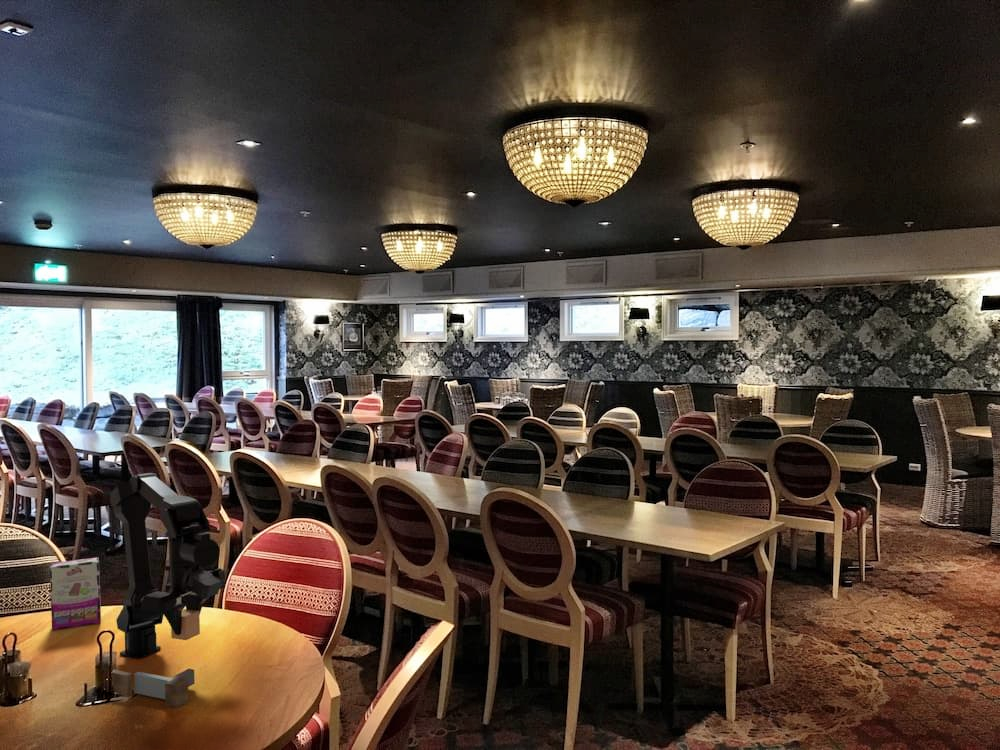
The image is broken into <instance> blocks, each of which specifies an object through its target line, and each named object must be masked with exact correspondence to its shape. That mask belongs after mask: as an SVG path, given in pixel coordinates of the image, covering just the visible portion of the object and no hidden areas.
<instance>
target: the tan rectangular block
mask: <svg viewBox="0 0 1000 750" xmlns="http://www.w3.org/2000/svg"><path fill="white" fill-rule="evenodd" d="M170 628H171V629H170V630H171V633H170V634H171V639H174V640H181V641H188V640H190V639H192V638H194V637H196V636H199V635H200V634H201V631H200V630H201V626H200V615H199V611H195V610H187V609H186V608H184V609H183V610H182V622H181V634H180V635H176V634H175V633H174V631H173V629H172V627H171V626H170Z"/></svg>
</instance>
